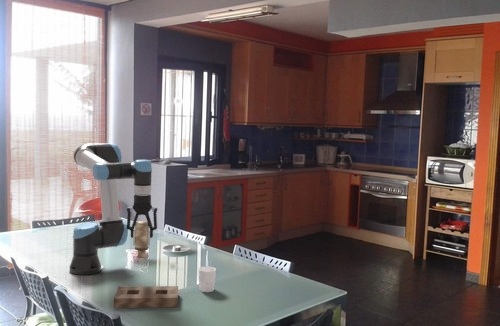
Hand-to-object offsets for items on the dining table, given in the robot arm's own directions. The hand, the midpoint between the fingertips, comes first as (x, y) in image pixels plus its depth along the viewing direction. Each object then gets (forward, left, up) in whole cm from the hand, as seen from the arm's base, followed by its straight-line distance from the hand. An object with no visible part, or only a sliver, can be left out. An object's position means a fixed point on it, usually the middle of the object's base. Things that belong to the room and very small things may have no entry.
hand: (141, 244), depth 225 cm
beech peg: (0, 0, -6) cm, 6 cm away
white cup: (+30, -2, -21) cm, 37 cm away
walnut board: (+4, -15, -21) cm, 26 cm away
